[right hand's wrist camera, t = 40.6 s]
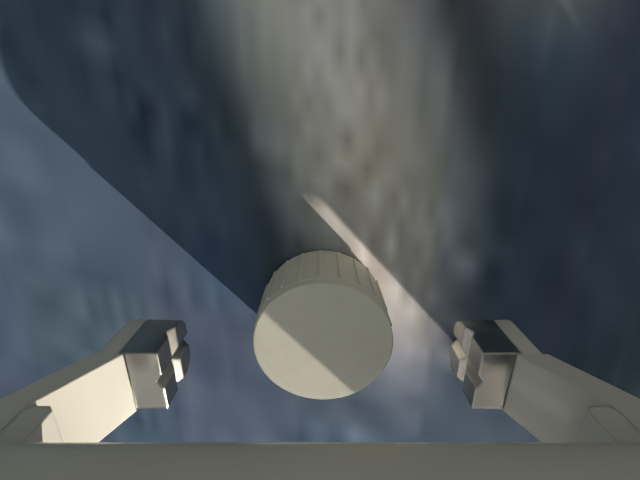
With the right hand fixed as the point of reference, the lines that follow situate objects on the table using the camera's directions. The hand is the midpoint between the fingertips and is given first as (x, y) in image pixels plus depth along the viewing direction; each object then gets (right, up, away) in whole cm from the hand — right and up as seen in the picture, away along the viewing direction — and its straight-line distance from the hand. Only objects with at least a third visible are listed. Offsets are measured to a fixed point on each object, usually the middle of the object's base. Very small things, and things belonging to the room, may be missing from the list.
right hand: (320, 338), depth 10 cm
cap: (0, 0, 0) cm, 0 cm away
